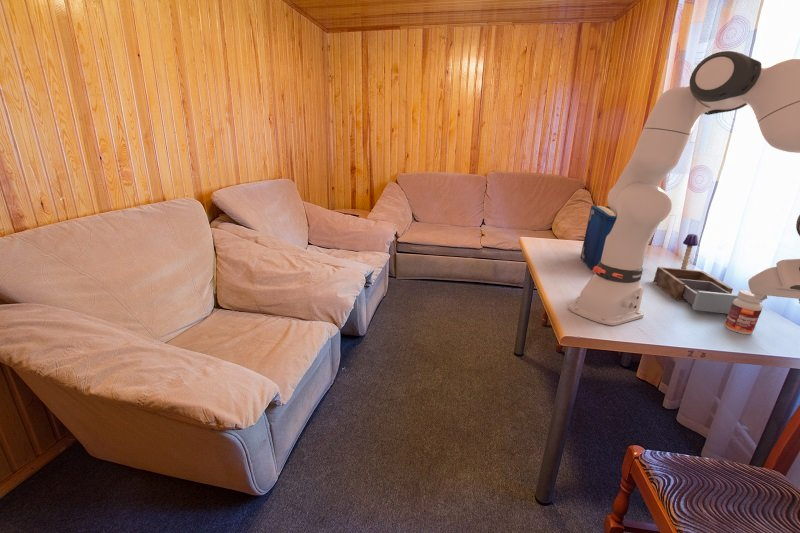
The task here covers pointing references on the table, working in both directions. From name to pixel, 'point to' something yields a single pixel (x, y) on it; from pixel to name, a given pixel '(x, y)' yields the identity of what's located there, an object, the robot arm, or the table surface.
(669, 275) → the walnut box
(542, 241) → the table surface
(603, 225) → the book
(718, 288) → the tray
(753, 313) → the pill bottle
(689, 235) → the toy lamp
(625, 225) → the robot arm
